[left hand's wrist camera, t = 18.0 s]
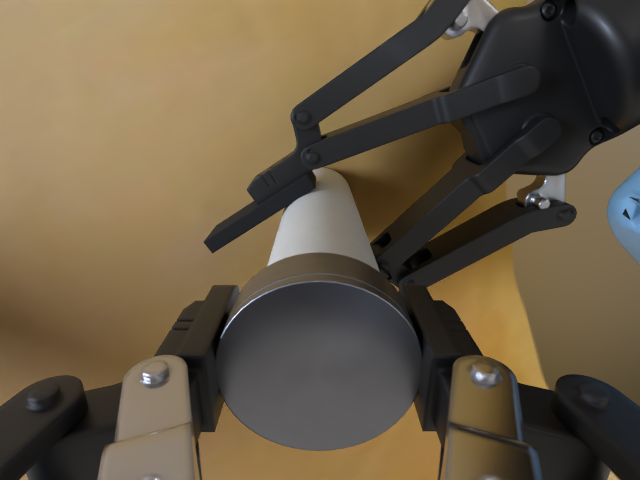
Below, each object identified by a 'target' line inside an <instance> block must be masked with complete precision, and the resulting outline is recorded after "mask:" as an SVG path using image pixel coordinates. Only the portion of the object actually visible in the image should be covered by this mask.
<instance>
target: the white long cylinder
mask: <svg viewBox="0 0 640 480" xmlns="http://www.w3.org/2000/svg"><path fill="white" fill-rule="evenodd" d="M313 173H314V174H315V176H316V188H314V189H313V190H311V191H310V192H308V193H307V194H305V195H303V196H302V197H300V198H298V199H297V200H296V201H294V202H292V203H291V204H289V205H288V206H286V207H285V209H284V212H283V216H282V219H281V222H280V226H279V229H278V232H277V236H276V239H275V242H274V246H273V249H272V252H271V256H270V259H269V262H268V266H269V265H271V264H272V263H274V262H277V261H279V260H281V259H284V258H287V257H290V256H294V255H298V254H304V253H316V252H323V253H335V254H340V255H345V256H348V257H351V258H354V259H357V260H359V261H361V262H364V263H366V264H368V265H370V266H371V267H373V268H374V269H376V270H377V271H379V268H378V265H377V263H376V260H375V257H374V254H373V251H372V249H371V246H370V243H369V240H368V237H367V235H366V232H365V229H364V226H363V224H362V221H361V218H360V215H359V212H358V210H357V207H356V204H355V201H354V198H353V196H352V193H351V190H350V187H349V185H348V183H347V181H346V180H345V179H344V178H343V176H341V175H340V174H339V173H338V172H336V171H334V170H332V169H328V168H322V167H321V168H319V169H314V170H313ZM379 272H380V271H379Z"/></svg>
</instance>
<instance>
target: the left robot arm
mask: <svg viewBox="0 0 640 480" xmlns="http://www.w3.org/2000/svg"><path fill="white" fill-rule="evenodd" d="M238 295H239V288H238V286H237V285H214V286H213V287H212V288H211V290H210V292H209V294H208V296H207V297H206V299H205V301H195V302H193V303H192V304H191V305H189V306H188V307H186V308H185V309H184V310H183V311H182V313H181V314H180V316H179V318H178V319H177V322H175V324H174V325H173V327H172V330H170V332H169V333H168V335H167V336H166V338H165V340H164V341H163V343H162V344H161V346H160V348H159V349H158V351H157V352H156V354H155V355H154V357H151V358H148V359H145V360H143V361H141V362H139V363H138V364H136V365H135V366H133V367H132V368H131V369H130V370H129V371H128V372H127V373H126V375H125V377H124V379H123V382H121V383H118V384H115V385H111V386H107V387H102V388H98V389H93V390H88V391H84V387H83V384H82V382H81V380H80V379H78V378H76V377H73V376H56V377H51V378H47V379H44V380H41V381H39V382H36V383H34V384H32V385H30V386H28V387H27V388H25V389H23V390H22V391H21V392H19V393H18V394H16V395H15V396H14V397H12V398H11V399H10V400H8V401H7V402H6V403H4V404H3V405H2V406H0V480H19V479H20V478H21V477H22V476H23V475H24V474H25V473H26V474H27V476H28V479H29V480H203V477H202V467H201V457H200V449H199V442H198V439H199V436H200V433H201V432H215V429H216V426H217V423H218V420H219V416H220V413H221V410H222V407H223V403H224V399H223V397H222V395H221V393H220V390H219V384H218V375H217V367H216V349H217V346H218V343H219V340H220V337H221V334H222V332H223V330H224V327H225V325H226V322H227V320H228V317H229V315H230V313H231V310H232V308H233V305H234V303H235V301H236V299H237V297H238ZM399 295H400V296H401V298H402V300H403V303H404V305H405V307H406V310H407V312H408V315H409V317H410V320H411V322H412V324H413V327H414V329H415V332H416V334H417V337H418V339H419V342H420V346H421V350H422V364H421V373H420V382H419V389H418V393H417V396H416V398H415V399H414V404H415V407H416V411H417V414H418V417H419V420H420V424H421V427H422V430H423V431H437V434H438V437H439V440H440V443H441V449H440V457H439V467H438V477H437V480H607V479H608V476H609V473H610V471H611V470H612V471H613V472H614V473H615V474H616V475H617V476H618V477H619V478H620V479H621V480H640V406H638V405H637V404H635V403H634V402H633V401H632V400H630V399H629V398H628V397H626V396H625V395H624V394H622V393H621V392H620V391H618V390H617V389H615V388H614V387H612V386H610V385H609V384H607V383H605V382H602V381H600V380H597V379H595V378H591V377H588V376H584V375H574V374H571V375H565V376H562V377H560V378H559V379H558V380H557V382H556V385H555V389H554V391H552V390H547V389H542V388H538V387H533V386H529V385H524V384H521V383H518V382H517V379H516V377H515V375H514V373H513V372H512V371H511V370H510V369H509V368H508V367H507V366H505V365H504V364H502V363H501V362H499V361H497V360H495V359H492V358H489V357H485V356H483V354H482V353H481V351H480V350H479V348H478V346H477V345H476V343H475V342H474V340H473V338H472V337H471V335H470V334H469V332H468V330H466V327H465V326H464V324H463V322H462V321H461V319H460V318H459V316H458V314H457V313H456V311H455V310H454V309H453V308H452V307H451V306H449V305H448V304H446V303H445V302H444V301H442V300H433V299H432V297H431V295H430V294H429V292H428V290H427V288H426V286H425V285H400V288H399Z"/></svg>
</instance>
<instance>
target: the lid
mask: <svg viewBox="0 0 640 480" xmlns="http://www.w3.org/2000/svg"><path fill="white" fill-rule="evenodd" d="M421 364H422V350H421V346H420V342H419V339H418V337H417V334H416V332H415V329H414V327H413V324H412V322H411V320H410V317H409V315H408V312H407V310H406V307H405V305H404V303H403V300H402V298H401V296H400V295H399V293H398V292H397V290H396V288H395V287H394V286H393V285H392V284H391V282H390V281H389V280H388V279H387V278H386V277H385V276H383V275H382V274H381V273H380V272H379V271H377V270H376V269H374V268H373V267H371V266H370V265H368V264H366V263H364V262H361V261H359V260H357V259H354V258H351V257H348V256H345V255H340V254H335V253H323V252H316V253H304V254H298V255H294V256H290V257H287V258H284V259H281V260H279V261H277V262H274V263H272V264H271V265H269V266H267V267H266V268H264V269H262V270H261V271H260V272H258V273H257V274H256V275H255V276H254V277H252V278H251V280H250V281H249V282H248V283H247V284H246V285H245V286H244V288H243V289H242V290H241V292H240V293H239V295H238V297H237V299H236V301H235V303H234V305H233V308H232V310H231V313H230V315H229V317H228V320H227V322H226V325H225V327H224V330H223V332H222V334H221V337H220V340H219V343H218V346H217V349H216V367H217V375H218V384H219V390H220V393H221V395H222V397H223V399H224V401H225V403H226V405H227V406H228V407H229V409H230V410H231V412H232V413H233V414H234V415H235V416H236V417H237V418H238V419H239V420H240V421H241V422H242V423H243V424H244V425H245V426H246V427H248V428H249V429H250V430H252V431H253V432H255V433H256V434H258V435H260V436H262V437H264V438H266V439H268V440H270V441H272V442H275V443H277V444H280V445H283V446H287V447H291V448H296V449H302V450H314V451H324V450H336V449H343V448H347V447H351V446H355V445H358V444H361V443H364V442H366V441H368V440H371V439H373V438H375V437H377V436H378V435H380V434H382V433H383V432H385V431H387V430H388V429H389V428H390V427H392V426H393V425H394V424H395V423H397V422H398V421H399V420H400V419H401V417H402V416H403V415H404V414H405V413H406V412H407V410H408V409H409V408H410V406H411V405H412V403H413V401H414V399H415V398H416V396H417V393H418V389H419V382H420V373H421Z"/></svg>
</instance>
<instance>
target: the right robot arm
mask: <svg viewBox="0 0 640 480" xmlns="http://www.w3.org/2000/svg"><path fill="white" fill-rule="evenodd" d="M466 31H471V32H474V33H475V37H474V39H473V41H472V43H471V45H470V47H469V49H468V51H467V53H466V56H465V58H464V60H463V62H462V64H461V66H460V68H459V70H458V72H457V75H456V77H455V79H454V81H453V83H452V85H451V86H449V87H446V88H443V89H441V90H438V91H436V92H433V93H430V94H428V95H425V96H423V97H421V98H419V99H417V100H414V101H412V102H409V103H406V104H404V105H401V106H398V107H396V108H393V109H390V110H388V111H385V112H382V113H380V114H377V115H375V116H372V117H369V118H367V119H364V120H361V121H359V122H356V123H353V124H351V125H348V126H345V127H343V128H340V129H337V130H335V131H332V132H329V133H327V134H324V135H321V132H320V127H319V122H320V121H322V120H323V119H325V118H326V117H328V116H329V115H330V114H332V113H333V112H335V111H336V110H338V109H339V108H340V107H342V106H343V105H345V104H346V103H348V102H349V101H350V100H352V99H353V98H355V97H356V96H358V95H359V94H360V93H362V92H363V91H365V90H366V89H368V88H369V87H371V86H372V85H373V84H375V83H376V82H378V81H379V80H381V79H382V78H383V77H385V76H386V75H388V74H389V73H391V72H392V71H393V70H395V69H396V68H398V67H399V66H401V65H402V64H403V63H405V62H406V61H408V60H409V59H411V58H412V57H413V56H415V55H416V54H418V53H419V52H421V51H422V50H423V49H425V48H426V47H428V46H429V45H431V44H432V43H433V42H434V41H436V40H437V39H438V38H439V37H441V38H443V39H446V40H451V39H454V38H456V37H459V36H461V35H462V34H464V33H465V32H466ZM291 121H292V124H293V127H294V131H295V135H296V140H297V146H296V148H295V150H294V151H293V152H292V153H290V154H289V155H287V156H286V157H284V158H283V159H281V160H280V161H278V162H277V163H275V164H273V165H272V166H271V167H269V168H267V169H266V170H265V171H263V172H261V173H260V174H258V175H257V176H256V177H255V178H254V180H253V181H252V182H251V184H250V185H249V187H248V189H247V191H248V192H249V194H250V195H251V197H252V198H253V199H254V201H253V202H252V203H250V204H249V205H247V206H246V207H244V208H243V209H241V210H240V211H238V212H236V213H235V214H233V215H232V216H230V217H229V218H227V219H226V220H224V221H223V222H221V223H220V224H218V225H217V226H216V227H215V228H214V229H213V231H212V232H211V233H210V234H209V236H208V237H207V238H206V240H205V241H204V243H205V245H206V246H207V247H208V248H209V249H210V251H211V252H212V253H214V252H215V251H217V250H218V249H220V248H222V247H223V246H225V245H226V244H228V243H229V242H231V241H233V240H234V239H236V238H237V237H239V236H240V235H242V234H244V233H245V232H247V231H248V230H250V229H251V228H253V227H255V226H256V225H258V224H259V223H261V222H262V221H264V220H266V219H267V218H269V217H270V216H272V215H274V214H275V213H277V212H278V211H280V210H281V209H283V208H285V207H286V206H288V205H289V204H291V203H292V202H294V201H296V200H297V199H298V198H300V197H302V196H303V195H305V194H307V193H308V192H310V191H311V190H313V189H314V188H316V176H315V174H314V173H313V170H314V169H319V168H321V167H324V166H327V165H330V164H332V163H335V162H338V161H340V160H343V159H346V158H349V157H351V156H354V155H357V154H360V153H362V152H365V151H368V150H370V149H373V148H376V147H379V146H381V145H384V144H387V143H390V142H392V141H395V140H398V139H401V138H403V137H406V136H409V135H411V134H414V133H417V132H420V131H422V130H425V129H428V128H431V127H433V126H436V125H439V124H444V123H449V122H451V123H452V124H453V125H454V126H455V127H456V128H457V129H458V130H459V131H460V132H461V135H462V140H463V145H464V149H465V151H466V153H464V154H463V155H462V156H461V157H460V158H459V159H458V160H457V161H456V162H455V163H454V164H453V166H452V169H451V170H450V171H449V172H448V173H447V174H446V175H445V176H444V177H443V178H442V179H440V180H439V181H438V182H437V183H436V184H435V185H434V186H433V187H432V188H431V189H429V190H428V191H427V192H426V193H425V194H424V195H423V196H422V197H421V198H420V199H418V200H417V201H416V202H415V203H414V204H413V205H412V206H411V207H410V208H409V209H407V210H406V211H405V212H404V213H403V214H402V215H401V216H400V217H399V218H398V219H396V220H395V221H394V222H393V223H392V224H391V225H390V226H389V227H388V228H386V229H385V230H384V231H383V232H382V233H381V234H380V235H379V236H378V237H377V238H375V239H374V240H373V241H372V242H371V243H370V246H371V249H372V251H373V254H374V257H375V260H376V263H377V265H378V268H379V271H380V273H381V274H382V275H383V276H385V277H386V278H387V279H388V280H389V281H390V282H391V283H393V284H394V285H396V286H397V287H398V288H400V285H425V286H426V287H428V286H430V285H432V284H434V283H436V282H438V281H440V280H442V279H444V278H446V277H447V276H449V275H451V274H453V273H455V272H457V271H459V270H461V269H463V268H465V267H467V266H469V265H471V264H472V263H474V262H476V261H478V260H480V259H482V258H484V257H486V256H488V255H490V254H492V253H494V252H495V251H497V250H499V249H501V248H503V247H505V246H507V245H509V244H511V243H513V242H515V241H517V240H518V239H520V238H522V237H524V236H526V235H528V234H530V233H532V232H537V231H543V230H548V229H553V228H558V227H563V226H567V225H569V224H570V223H572V222H573V221H574V219H575V218H576V214H577V212H576V209H575V207H574V206H572V205H570V204H568V203H566V202H565V183H566V173H567V172H569V171H570V170H572V169H573V168H574V167H575V166H576V165H577V164H578V163H579V161H580V160H581V159H582V158H583V156H584V155H585V154H586V153H587V152H588V151H589V150H590V149H592V148H593V147H595V146H596V145H598V144H601V143H603V142H605V141H608V140H610V139H612V138H615V137H617V136H619V135H621V134H623V133H625V132H627V131H628V130H630V129H632V128H634V127H635V126H637V125H639V124H640V0H535V1H533V2H532V3H530V4H528V5H526V6H523V7H512V8H507V9H504V10H502V11H500V12H499V11H498V10H497V9H496V8H495V7H494V6H493V5H492V4H491V3H490V2H489V1H488V0H429V2H428V3H427V4H426V6H425V7H424V9H423V10H422V11H421V13H420V14H419V16H418V17H417V18H416V20H415V21H413V22H412V23H411V24H409V25H408V26H407V27H405V28H404V29H402V30H401V31H400V32H398V33H397V34H395V35H394V36H393V37H391V38H390V39H388V40H387V41H386V42H384V43H383V44H382V45H380V46H379V47H377V48H376V49H375V50H373V51H372V52H370V53H369V54H368V55H366V56H365V57H363V58H362V59H361V60H359V61H358V62H357V63H355V64H354V65H352V66H351V67H350V68H348V69H347V70H345V71H344V72H343V73H341V74H340V75H338V76H337V77H336V78H334V79H333V80H332V81H330V82H329V83H327V84H326V85H325V86H323V87H322V88H320V89H319V90H318V91H316V92H315V93H313V94H312V95H311V96H309V97H308V98H307V99H305V100H304V101H302V102H301V103H300V104H298V105H297V106H296V107H295V108H294V109H293V110H292V113H291ZM513 174H524V175H537V177H536V179H535V180H534V182H533V183H532V184H530V185H529V186H526V187H524V188H522V189H520V190H518V192H517V198H514V199H510V200H507V201H504V202H502V203H500V204H498V205H495V206H494V207H492V208H490V209H488V210H486V211H484V212H482V213H481V214H479V215H477V216H475V217H473V218H471V219H470V220H468V221H466V222H464V223H462V224H460V225H459V226H457V227H455V228H453V229H451V230H449V231H448V232H446V233H444V234H442V235H440V236H438V237H437V238H435V239H433V240H431V241H429V240H430V239H431V238H433V237H434V236H435V235H436V234H437V233H438V232H440V231H441V230H442V229H443V228H444V227H445V226H446V225H448V224H449V223H450V222H451V221H452V220H453V219H455V218H456V217H457V216H458V215H459V214H460V213H462V212H463V211H464V210H465V209H466V208H467V207H468V206H470V205H471V204H472V203H473V202H474V201H475V200H477V199H478V198H479V197H480V196H482V195H484V194H488V193H490V192H492V191H494V190H495V189H496V188H497V187H499V186H500V185H501V184H502V183H503V182H504V181H506V180H507V179H508V178H509V177H510V176H511V175H513ZM607 217H608V221H609V224H610V227H611V229H612V231H613V233H614V235H615V237H616V238H617V240H618V241H619V242H620V244H621V245H622V246H623V247H624V249H625V250H626V251H627V252H628V253H629V254H630V255H631V256H632V257H633V258H634V259H635V260H636V261H637V262H638V263H639V264H640V167H639V168H638V169H637V170H636V171H635V172H634V173H633V174H632V175H631V176H630V177H629V178H627V179H626V180H625V181H624V182H623V183H622V184H621V185H620V186H619V187H618V188H617V189H616V191H615V192H614V193H613V195H612V196H611V198H610V200H609V203H608V208H607ZM428 241H429V242H428Z"/></svg>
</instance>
